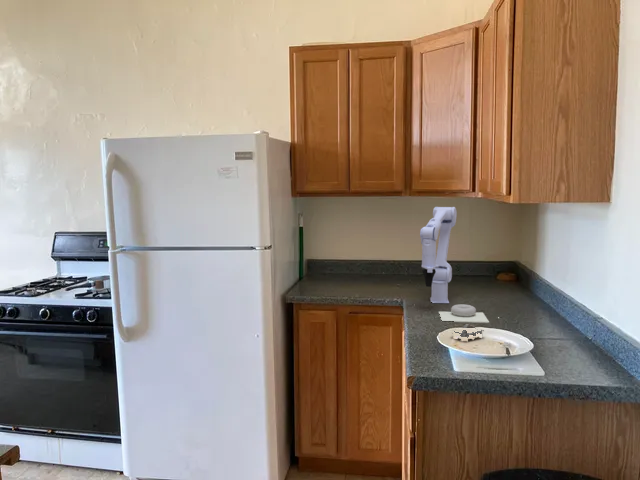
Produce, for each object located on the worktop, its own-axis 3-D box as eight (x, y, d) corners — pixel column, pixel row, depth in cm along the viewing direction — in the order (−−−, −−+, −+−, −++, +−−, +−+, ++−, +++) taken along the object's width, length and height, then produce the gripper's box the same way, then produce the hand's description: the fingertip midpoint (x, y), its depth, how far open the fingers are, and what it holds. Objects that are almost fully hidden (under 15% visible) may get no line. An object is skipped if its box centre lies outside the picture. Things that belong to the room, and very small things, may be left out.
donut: (449, 311, 207) (452, 317, 197) (449, 303, 207) (452, 308, 197) (473, 311, 206) (477, 317, 196) (474, 303, 205) (478, 309, 196)
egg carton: (470, 333, 179) (470, 322, 178) (486, 338, 172) (486, 327, 172) (448, 338, 174) (448, 326, 173) (463, 343, 167) (464, 332, 167)
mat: (438, 312, 207) (438, 311, 207) (482, 313, 204) (482, 312, 204) (441, 321, 193) (441, 320, 193) (489, 322, 190) (489, 321, 190)
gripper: (440, 257, 200) (439, 290, 202) (437, 252, 214) (436, 283, 216) (422, 257, 201) (422, 289, 203) (420, 252, 215) (420, 282, 217)
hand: (428, 286), depth 209 cm, fingers closed
